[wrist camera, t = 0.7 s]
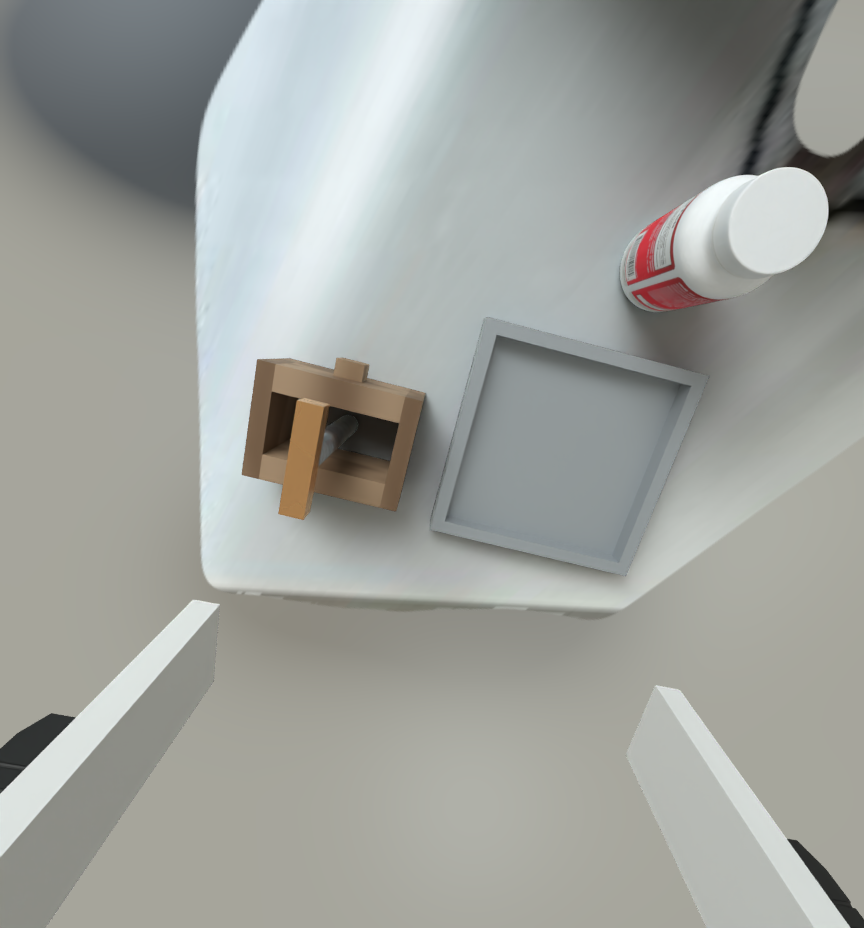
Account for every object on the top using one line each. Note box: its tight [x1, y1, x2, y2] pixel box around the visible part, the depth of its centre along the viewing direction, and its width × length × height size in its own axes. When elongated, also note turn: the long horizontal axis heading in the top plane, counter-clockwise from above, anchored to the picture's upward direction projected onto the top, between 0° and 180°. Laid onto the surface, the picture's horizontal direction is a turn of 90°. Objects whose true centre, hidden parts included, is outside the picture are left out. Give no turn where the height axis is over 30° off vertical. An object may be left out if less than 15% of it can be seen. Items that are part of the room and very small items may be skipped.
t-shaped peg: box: [278, 398, 358, 520], centre depth 28 cm, size 6×2×12 cm, turn 166°
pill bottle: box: [620, 167, 828, 312], centre depth 25 cm, size 6×6×11 cm
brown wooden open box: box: [242, 358, 425, 511], centre depth 31 cm, size 11×9×6 cm
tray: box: [430, 317, 709, 576], centre depth 33 cm, size 17×17×2 cm
